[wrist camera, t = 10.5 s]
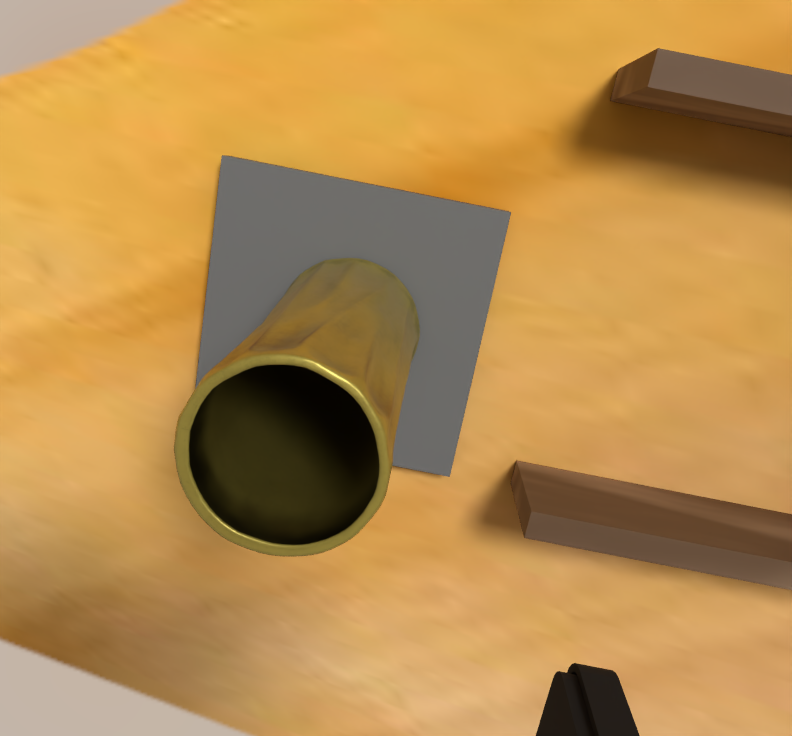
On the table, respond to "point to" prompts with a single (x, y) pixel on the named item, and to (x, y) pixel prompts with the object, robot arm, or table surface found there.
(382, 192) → the rubber mat
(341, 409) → the vase
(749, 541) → the open wooden frame
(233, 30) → the table surface
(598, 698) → the robot arm
